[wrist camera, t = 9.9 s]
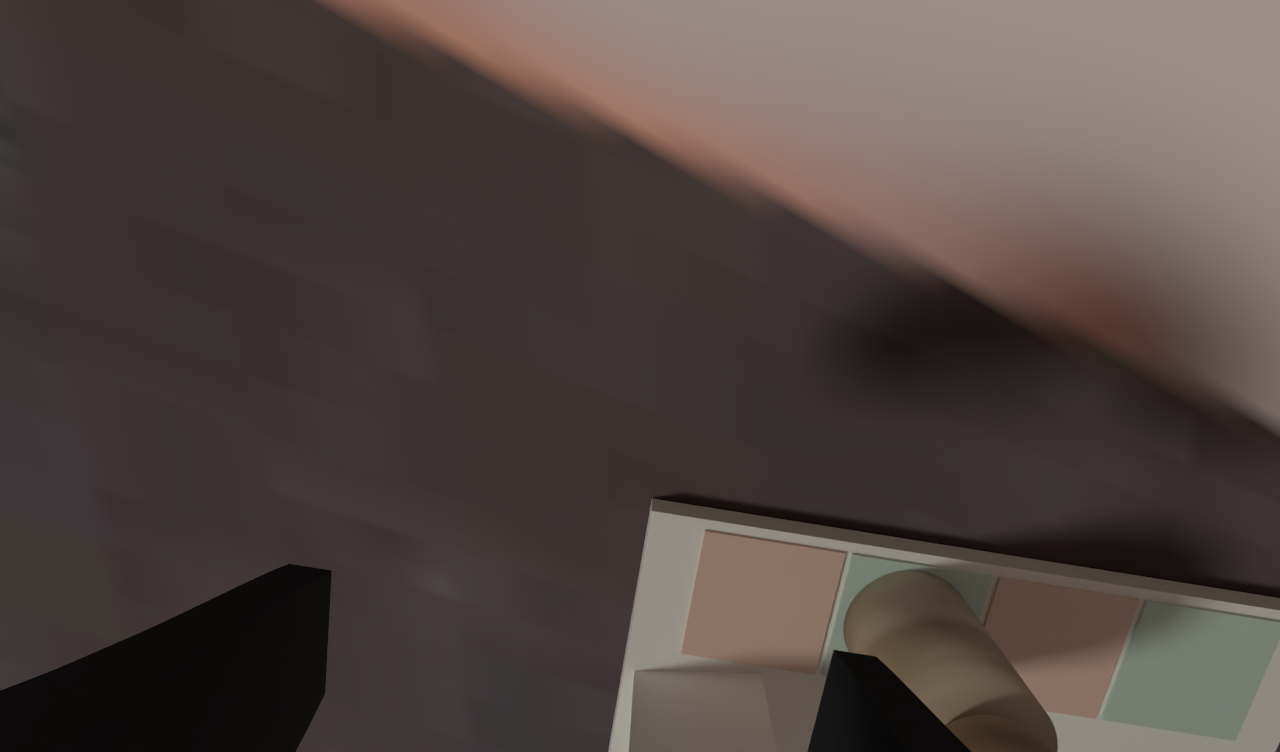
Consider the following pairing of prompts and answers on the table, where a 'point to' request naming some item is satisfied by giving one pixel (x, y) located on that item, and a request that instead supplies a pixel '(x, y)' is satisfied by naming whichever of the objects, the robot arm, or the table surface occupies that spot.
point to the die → (699, 713)
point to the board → (1000, 598)
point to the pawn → (948, 662)
